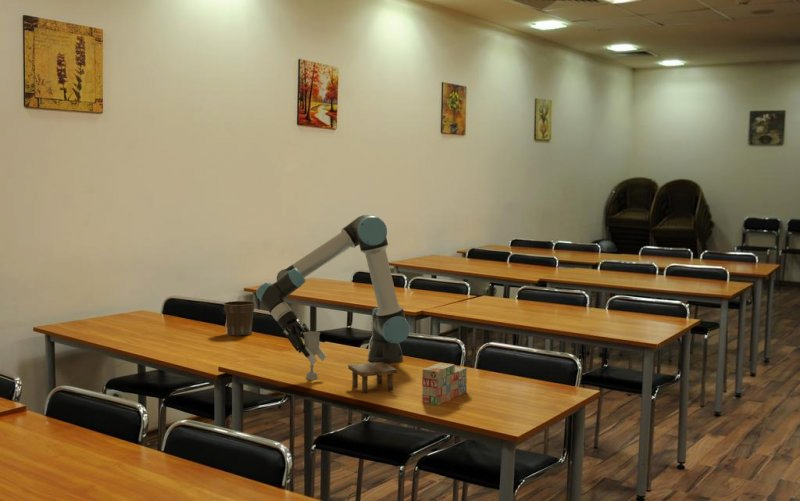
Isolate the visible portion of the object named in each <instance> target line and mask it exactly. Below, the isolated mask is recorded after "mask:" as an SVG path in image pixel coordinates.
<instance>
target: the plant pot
mask: <svg viewBox="0 0 800 501" xmlns="http://www.w3.org/2000/svg"><path fill="white" fill-rule="evenodd" d="M255 305H256V302H255V301H252V300H251V301H248V300H234V301H233V300H232V301H226V302H223V307H224V308H223V309H224V312H225V319H226V320H225V321H226V322H225V323H226V332H227V335H228V336H233V337H234V336H235V337H240V336H250V335H251V334H252V332H253V331H252V330H253V319H254V311H255Z"/></svg>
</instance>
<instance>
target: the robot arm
mask: <svg viewBox="0 0 800 501" xmlns="http://www.w3.org/2000/svg"><path fill="white" fill-rule="evenodd" d="M387 235H388V228H387V225H386V223H385V221H383V220H382V219H381V218H380V217H378V216H377V215H370V214H363V215H360V216H357V217H356V218H355V219H354V220H352V221H351V222H349V223H348V224H347V225H346V226H344V227H343V228H342V229H341V232H340V233H338V234H337V235H335V236H333V237H332V238H330V239H329V240H327V241H326V242H325V243H323V244H321V245H320V246H318V247H317V248H315V249H313V250H312V251H311V252H309V253H308V254H306V255H305V256H303V257H302V258H300V259H298V260H297V261H295V262H294V263H292V264H291V265H290V266H288V267H286V268H284V269H281V270H280V271H278V273H277V274H276V281H275V282H274V283H271V282H269V281H267V282H265V283H263V284H261V285H259V287H257V289H256V291H255V294H256V297H257V298H258V299H259V301H260V303H261V304H262V305H263V306H264V308H265V309H266V310H267V311H268V312H269V313H270V315H271V316H272V317H273V319H274V320H275V321H276V322H277V324H278V325H279V327H280V328H281V329H282V330H283V331H282V333H283V335H284V336H285V337H286V338H287V340H288V341H289V343H290V344H291V345H292V346H293V348H294V349H295V351H296V352H298V353H299V354H301V353H302V354H303V355H304V357H305V358H306V359H307V360H308V362H309V363H310V365H311V364H312V365H314V364H315V363H316V362H317V361H318V359H317V358H316V356H317V357H318V358H319V360H320V361H321V362H323V361H325V359H326V358H328V356H327V354H326V353H325V352H324V351H323V349H322V348H321V347H320V346H319V348H318V350H317V353H316V355H315V356H314V355H313V354H312V353H311V351H310V350H309V349H308V347H306V348H305V345H304V334H303V333H304V332H311V330H310V328H308V327H307V324H306V323H302V324H300V322H298V316H297V315H296V313H295V312H294V310H293V311H292V308H291V307H290V306H289V305H288V303H287V302H286V301H285V299H286V298H288V296H290V295H291V294H292V293H294V292H295V291H297V290H298V289H299V288H301V287H302V286H303V285H304V284H305V283H306V279H305V278H306V277H308V276H309V275H311V274H312V273H314V272H315V271H317V270H319V269H320V268H322V267H323V266H324V265H326V264H327V263H329V262H331V261H332V260H334V259H335V258H336V257H338V256H340V255H341V254H342V253H345V252H346V251H347V250H349V249H350V248H352V249H353V248H356V247H357V246H359V248H360V252H361V253H363V254H364V255H365V258H366V263H367V267H368V271H369V275H370V281H371V285H372V287H373V291H374V292H373V293H374V296H375V301H376V305H377V307H375V308H372V312H371V313H372V314H371V317H372V318H371V319H372V321H371V322H372V326H371V327H372V330H371V331H372V332H371V337H372V339H371V340H372V341H371V342H372V343H371V346H370V348H369V351H368V354H367V358H368V359H367V360H368V361H369V362H370V363H377V362H383V363H385V364H395V363H400V362H402V361H403V359H404V358H403V356H404V355H403V350H402V348H401V345H400V343H402V342H404V341H405V340H406V339H407V338H408V337H409V334H410V332H411V326H410V323H409V321H408V320H407V318H406V315H405V311H404V308H403V306H401V305H400V304H399V302H398V298H397V293H396V289H395V285H394V280H393V276H392V272H391V268H390V264H389V258H388V255H387V248H388V247H389V246H388V245H389V242H388V239H387V238H388V237H387ZM302 339H303V340H302Z"/></svg>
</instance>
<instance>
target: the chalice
mask: <svg viewBox="0 0 800 501" xmlns="http://www.w3.org/2000/svg"><path fill="white" fill-rule="evenodd" d="M310 331H311V330H310ZM303 334H304V339H303V343H304V345H305V348H306V347H308V349H309V350H310V351H311V353H312V354H313V355H314V356H315V357H316V356H317V354H316V353H317V350H318V348H319V347H320V335H321V332H320V331H311V332H304V333H303ZM309 367H310V370H309V372H308V373H306V377H305V380H309V381H310V380H311V381H313V380H314V381H315V380H318V379H319V377H318V375H317V372H315V371H314V367H315V365H314V364H313V365H312V364H311V363H310V365H309Z"/></svg>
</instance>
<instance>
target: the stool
mask: <svg viewBox="0 0 800 501" xmlns="http://www.w3.org/2000/svg"><path fill="white" fill-rule="evenodd" d="M347 366H348V367H347V368H348V370H349V371H352V380H351V381H352V382H351V383H352V387H353V388H358V387H359V383H358V382H359V378H358V377H359V376H360V377H361V393H362V394H368V379H369V378H368V377H373V376H374V377H375V376H376V385H379V386H381V385H383V376H385V375H386V376H387V377H386V391H388V392H391V391H393V388H394V387H393V384H394V383H393V375H394V374H398V369H397V368H395V367H393V366H391V365H389V364H388V363H383V362H377V363H376V362H369V363H357V364H349V365H347Z"/></svg>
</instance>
